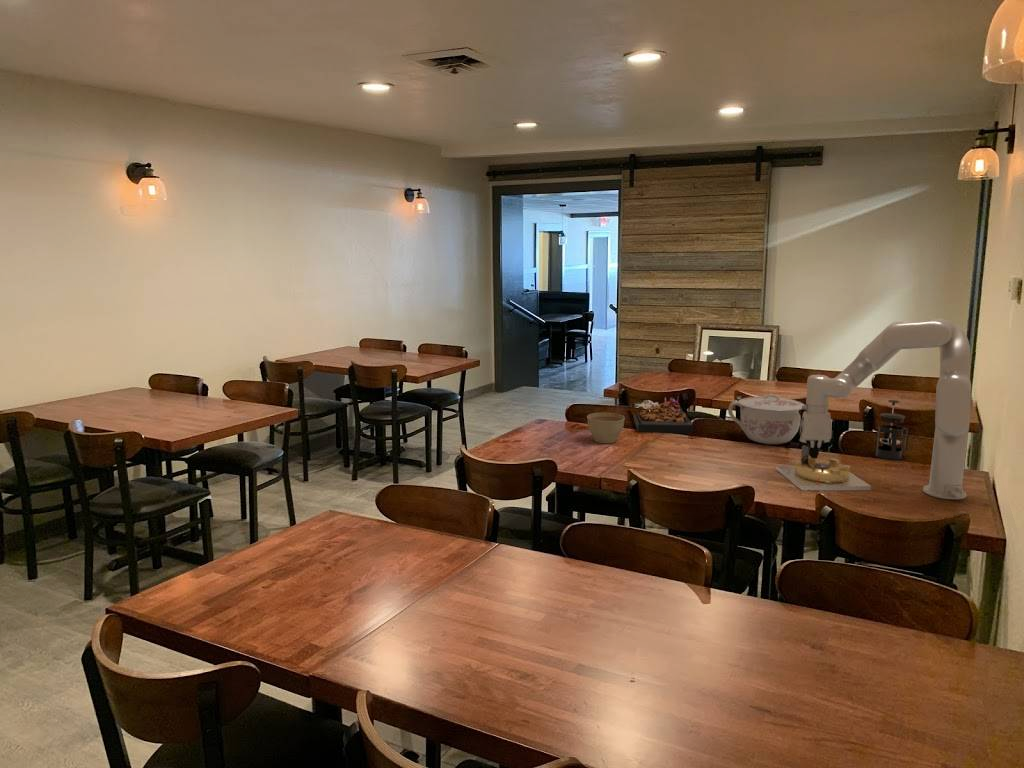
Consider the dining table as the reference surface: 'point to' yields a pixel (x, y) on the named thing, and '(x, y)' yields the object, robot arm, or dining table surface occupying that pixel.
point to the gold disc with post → (821, 469)
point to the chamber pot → (768, 418)
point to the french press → (892, 451)
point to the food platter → (661, 418)
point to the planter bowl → (605, 426)
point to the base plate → (806, 484)
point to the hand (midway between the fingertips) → (813, 457)
